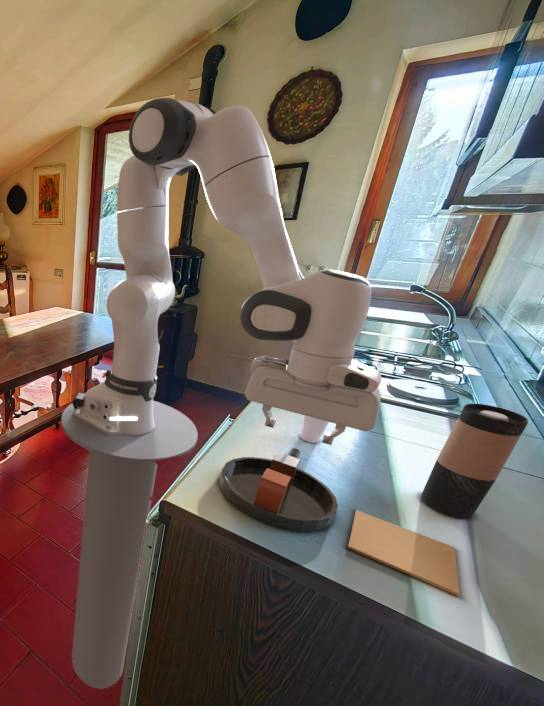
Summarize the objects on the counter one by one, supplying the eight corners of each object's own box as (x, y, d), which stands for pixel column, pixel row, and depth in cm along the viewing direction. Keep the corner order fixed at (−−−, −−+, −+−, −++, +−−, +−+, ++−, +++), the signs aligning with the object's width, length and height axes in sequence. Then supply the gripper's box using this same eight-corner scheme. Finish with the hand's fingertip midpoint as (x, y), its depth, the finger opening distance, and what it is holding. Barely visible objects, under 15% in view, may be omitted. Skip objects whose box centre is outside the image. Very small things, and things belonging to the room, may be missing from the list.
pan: (204, 496, 76) (207, 485, 75) (236, 456, 89) (239, 447, 88) (323, 549, 64) (328, 538, 63) (340, 494, 77) (344, 484, 76)
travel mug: (483, 514, 72) (540, 419, 65) (459, 523, 70) (515, 426, 62) (433, 489, 79) (478, 400, 71) (409, 497, 77) (454, 406, 69)
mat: (347, 548, 64) (348, 545, 64) (355, 512, 72) (356, 509, 72) (458, 596, 56) (459, 594, 56) (453, 549, 64) (454, 547, 64)
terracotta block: (253, 503, 73) (261, 477, 71) (259, 493, 76) (267, 467, 74) (277, 513, 71) (286, 486, 69) (282, 503, 74) (291, 476, 71)
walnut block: (265, 484, 79) (272, 459, 77) (270, 475, 82) (277, 451, 79) (287, 493, 76) (296, 467, 74) (292, 484, 79) (300, 459, 77)
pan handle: (279, 470, 83) (282, 463, 82) (290, 452, 89) (292, 445, 89) (289, 474, 82) (292, 467, 81) (299, 455, 88) (301, 448, 87)
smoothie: (306, 430, 101) (322, 381, 95) (331, 443, 95) (350, 391, 90) (288, 434, 99) (304, 384, 93) (313, 447, 93) (331, 394, 88)
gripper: (248, 357, 73) (234, 422, 79) (391, 385, 60) (362, 461, 66) (258, 350, 78) (243, 411, 83) (393, 375, 65) (365, 446, 70)
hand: (297, 434), depth 74 cm, fingers open, 8 cm apart
